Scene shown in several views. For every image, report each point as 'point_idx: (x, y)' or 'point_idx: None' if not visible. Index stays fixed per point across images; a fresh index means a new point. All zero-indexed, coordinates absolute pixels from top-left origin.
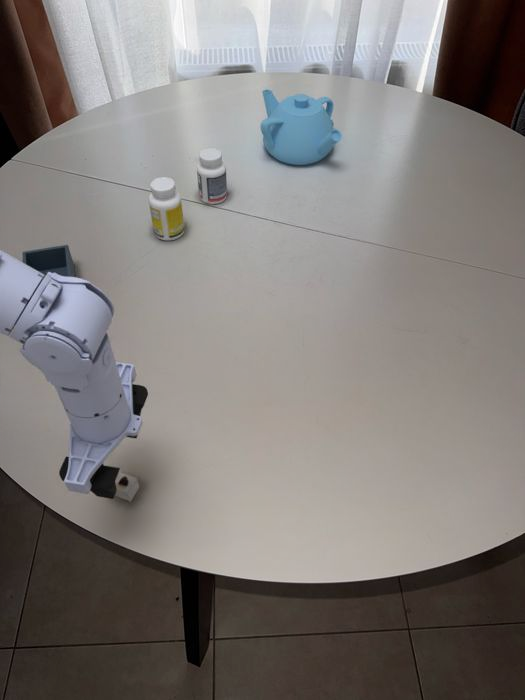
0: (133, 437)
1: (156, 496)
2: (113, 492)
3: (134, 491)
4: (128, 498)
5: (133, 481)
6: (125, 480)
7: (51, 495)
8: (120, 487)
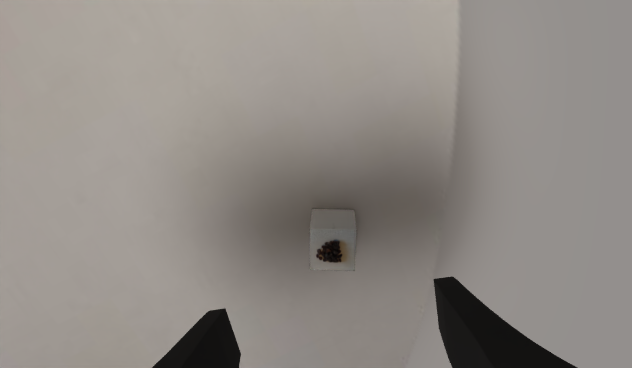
0: (226, 318)
1: (318, 160)
2: (487, 307)
3: (331, 214)
4: (354, 218)
5: (320, 231)
6: (328, 251)
7: (397, 354)
8: (348, 252)
